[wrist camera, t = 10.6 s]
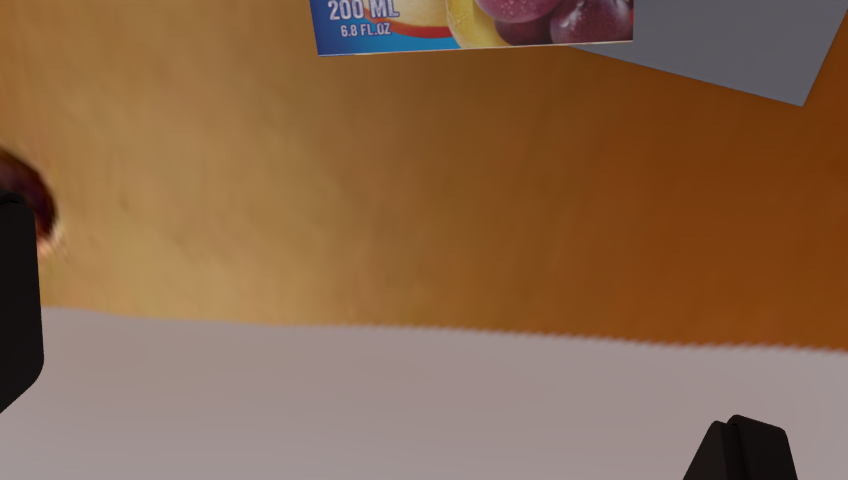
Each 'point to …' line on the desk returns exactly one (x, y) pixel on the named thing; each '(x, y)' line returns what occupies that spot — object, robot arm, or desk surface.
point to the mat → (734, 42)
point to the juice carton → (465, 24)
